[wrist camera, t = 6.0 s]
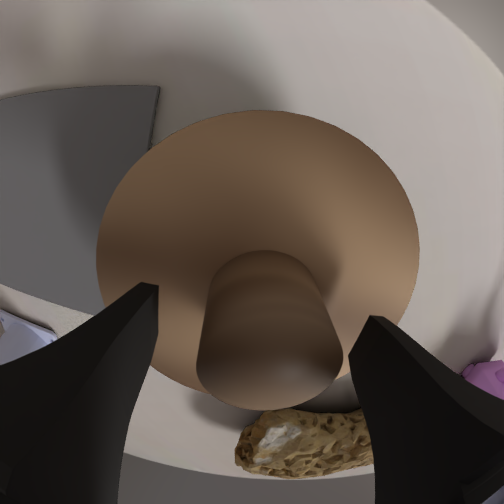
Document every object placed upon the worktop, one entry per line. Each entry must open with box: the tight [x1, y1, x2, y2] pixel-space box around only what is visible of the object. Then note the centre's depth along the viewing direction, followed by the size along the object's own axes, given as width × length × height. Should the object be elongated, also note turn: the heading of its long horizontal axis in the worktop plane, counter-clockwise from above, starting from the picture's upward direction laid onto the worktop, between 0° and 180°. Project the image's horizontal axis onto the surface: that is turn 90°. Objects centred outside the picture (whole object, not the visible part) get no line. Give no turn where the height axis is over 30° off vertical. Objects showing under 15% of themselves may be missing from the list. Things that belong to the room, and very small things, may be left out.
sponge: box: [235, 408, 374, 479], centre depth 21 cm, size 13×8×20 cm
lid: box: [96, 110, 420, 410], centre depth 9 cm, size 13×13×4 cm
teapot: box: [462, 360, 504, 400], centre depth 20 cm, size 18×13×10 cm
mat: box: [0, 85, 160, 315], centre depth 14 cm, size 15×15×1 cm
